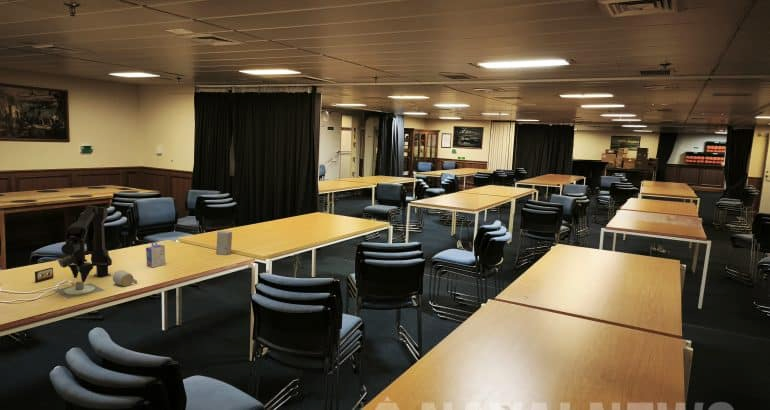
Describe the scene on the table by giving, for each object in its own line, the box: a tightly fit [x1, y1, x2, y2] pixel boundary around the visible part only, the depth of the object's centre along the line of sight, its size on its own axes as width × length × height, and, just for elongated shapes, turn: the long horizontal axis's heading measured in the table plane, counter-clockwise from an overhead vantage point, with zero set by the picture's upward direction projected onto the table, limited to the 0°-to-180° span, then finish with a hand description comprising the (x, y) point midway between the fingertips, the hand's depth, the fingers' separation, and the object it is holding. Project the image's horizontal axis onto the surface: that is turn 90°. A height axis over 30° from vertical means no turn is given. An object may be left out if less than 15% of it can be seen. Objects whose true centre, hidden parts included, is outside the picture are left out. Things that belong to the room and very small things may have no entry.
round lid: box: [64, 281, 95, 295], centre depth 237 cm, size 13×13×4 cm
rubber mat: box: [54, 282, 106, 299], centre depth 237 cm, size 17×17×1 cm
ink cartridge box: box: [145, 241, 166, 268], centre depth 288 cm, size 10×6×14 cm, turn 155°
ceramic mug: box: [112, 269, 138, 287], centre depth 251 cm, size 11×8×8 cm
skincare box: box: [215, 230, 233, 256], centre depth 324 cm, size 8×7×16 cm
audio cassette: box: [34, 267, 55, 283], centre depth 251 cm, size 9×1×6 cm, turn 164°
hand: (79, 279), depth 237 cm, fingers open, 9 cm apart
